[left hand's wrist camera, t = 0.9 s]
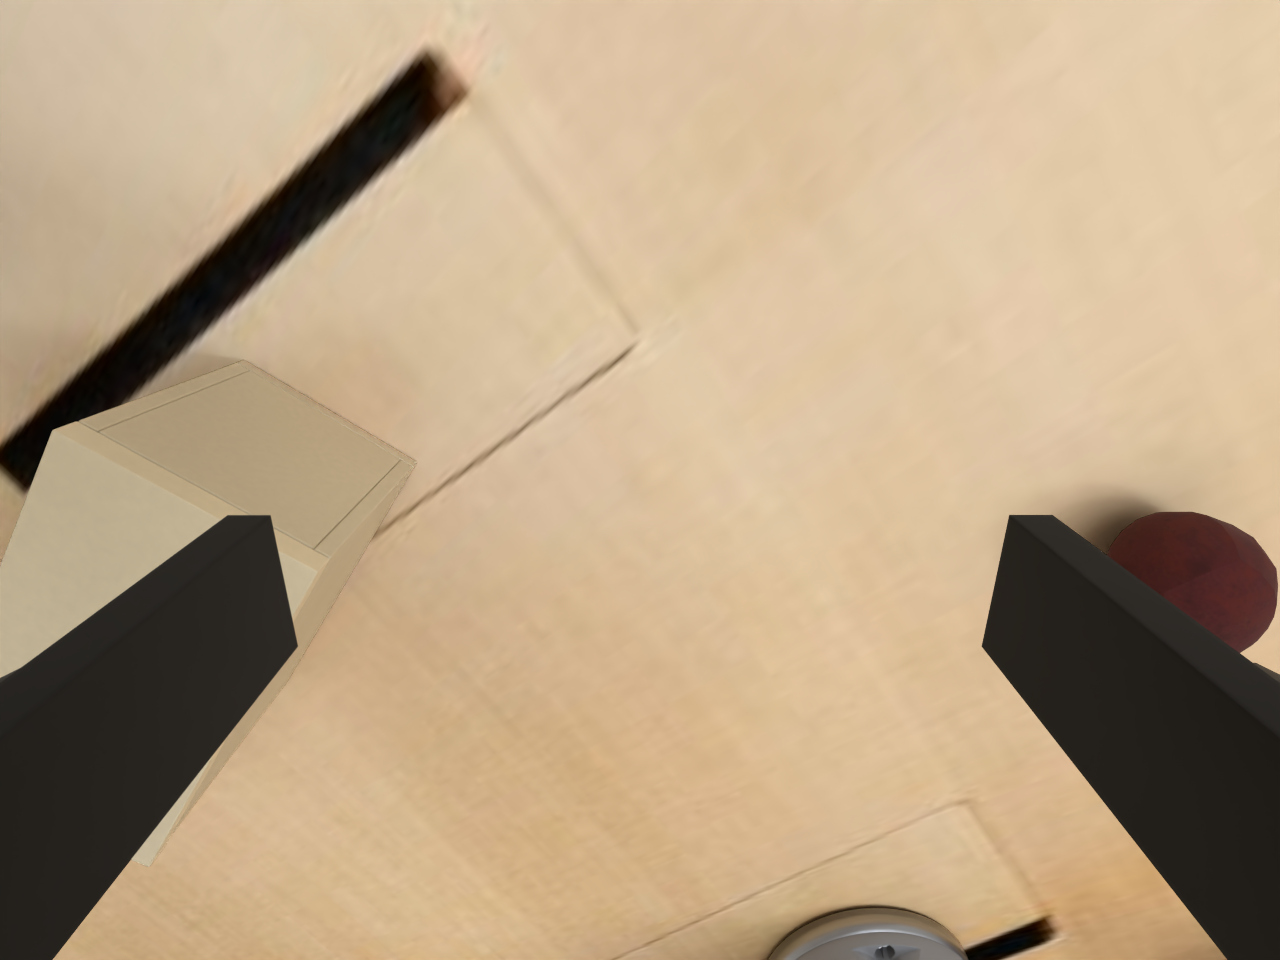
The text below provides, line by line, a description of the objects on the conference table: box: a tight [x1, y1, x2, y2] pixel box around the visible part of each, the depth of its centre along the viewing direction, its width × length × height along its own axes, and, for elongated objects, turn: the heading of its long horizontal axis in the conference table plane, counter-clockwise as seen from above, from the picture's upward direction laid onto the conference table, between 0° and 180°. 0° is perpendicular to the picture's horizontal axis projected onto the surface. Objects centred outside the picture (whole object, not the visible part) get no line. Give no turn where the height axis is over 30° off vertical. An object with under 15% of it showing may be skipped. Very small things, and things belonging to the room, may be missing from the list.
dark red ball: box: [1107, 512, 1278, 653], centre depth 36 cm, size 7×8×7 cm
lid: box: [0, 422, 329, 867], centre depth 24 cm, size 18×10×9 cm, turn 146°
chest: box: [79, 360, 417, 833], centre depth 34 cm, size 17×10×11 cm, turn 146°
